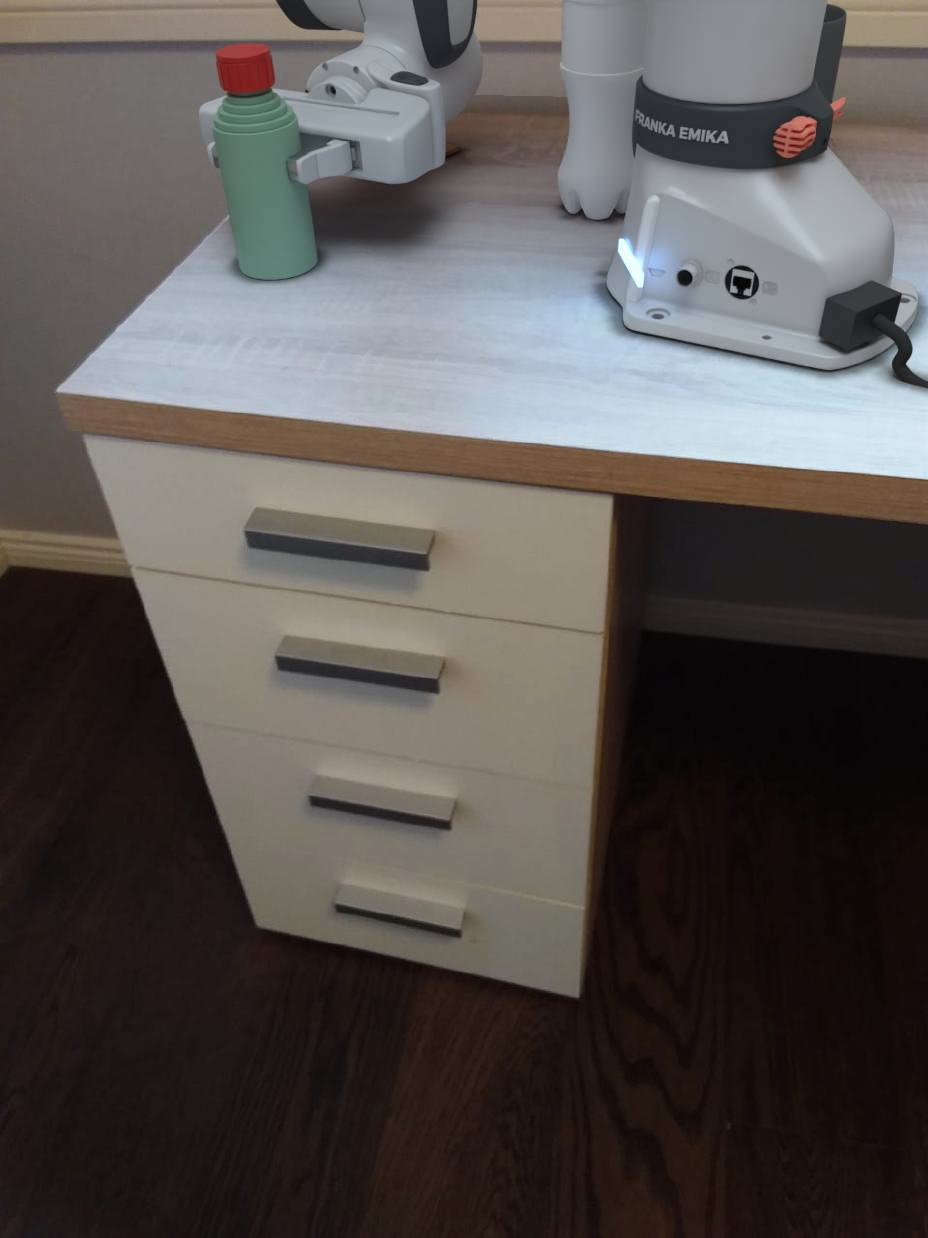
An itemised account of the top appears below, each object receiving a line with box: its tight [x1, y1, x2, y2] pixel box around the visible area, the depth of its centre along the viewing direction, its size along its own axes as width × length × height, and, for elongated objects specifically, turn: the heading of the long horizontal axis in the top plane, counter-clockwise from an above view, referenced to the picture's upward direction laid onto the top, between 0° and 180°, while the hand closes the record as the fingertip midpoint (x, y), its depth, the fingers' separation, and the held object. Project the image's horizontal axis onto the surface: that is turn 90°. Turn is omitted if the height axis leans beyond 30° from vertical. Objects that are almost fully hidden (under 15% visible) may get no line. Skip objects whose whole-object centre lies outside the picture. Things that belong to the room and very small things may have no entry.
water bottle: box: [556, 0, 648, 221], centre depth 80 cm, size 7×7×25 cm
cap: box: [214, 42, 276, 93], centre depth 73 cm, size 4×4×2 cm
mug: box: [813, 3, 848, 104], centre depth 94 cm, size 14×9×12 cm
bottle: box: [212, 87, 319, 281], centre depth 78 cm, size 6×6×15 cm
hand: (254, 165), depth 77 cm, fingers closed on bottle, 6 cm apart
